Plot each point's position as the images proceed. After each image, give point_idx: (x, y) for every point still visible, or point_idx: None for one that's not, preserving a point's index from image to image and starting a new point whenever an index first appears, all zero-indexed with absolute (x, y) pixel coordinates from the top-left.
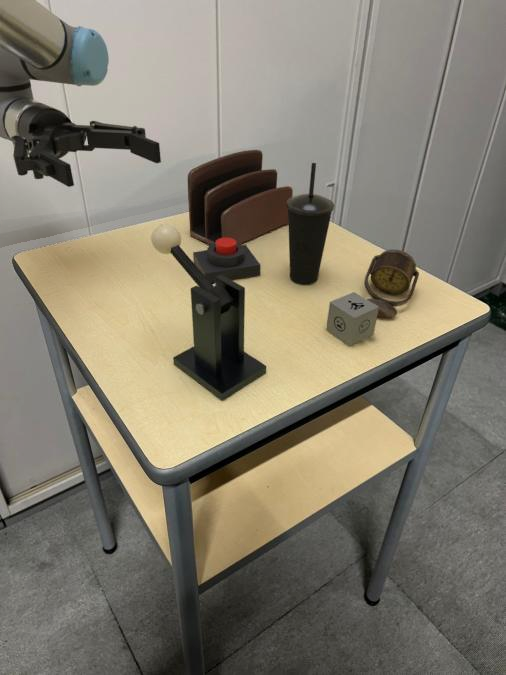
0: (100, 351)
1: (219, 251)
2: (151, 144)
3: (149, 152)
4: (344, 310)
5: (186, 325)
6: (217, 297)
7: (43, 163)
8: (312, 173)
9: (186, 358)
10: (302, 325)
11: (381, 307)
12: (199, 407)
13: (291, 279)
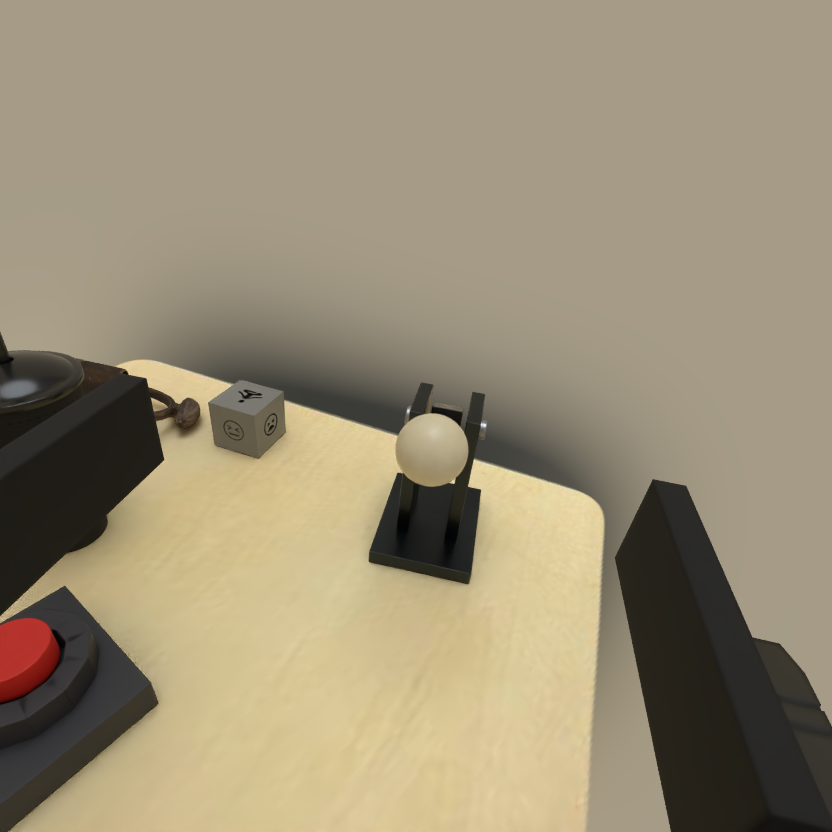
0: (548, 730)
1: (49, 664)
2: (127, 402)
3: (116, 459)
4: (269, 401)
5: (357, 632)
6: (457, 408)
7: (791, 690)
8: None
9: (457, 556)
10: (259, 483)
11: (196, 404)
12: (507, 513)
13: (88, 543)
